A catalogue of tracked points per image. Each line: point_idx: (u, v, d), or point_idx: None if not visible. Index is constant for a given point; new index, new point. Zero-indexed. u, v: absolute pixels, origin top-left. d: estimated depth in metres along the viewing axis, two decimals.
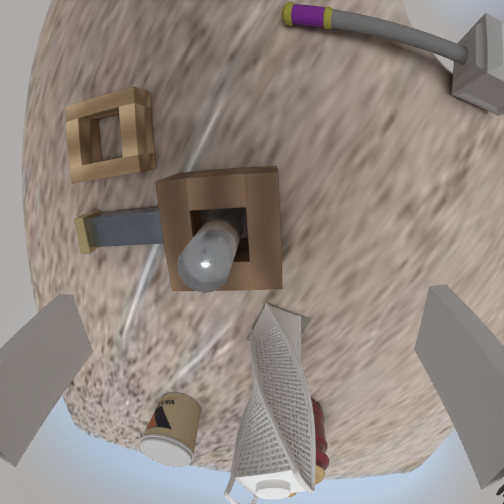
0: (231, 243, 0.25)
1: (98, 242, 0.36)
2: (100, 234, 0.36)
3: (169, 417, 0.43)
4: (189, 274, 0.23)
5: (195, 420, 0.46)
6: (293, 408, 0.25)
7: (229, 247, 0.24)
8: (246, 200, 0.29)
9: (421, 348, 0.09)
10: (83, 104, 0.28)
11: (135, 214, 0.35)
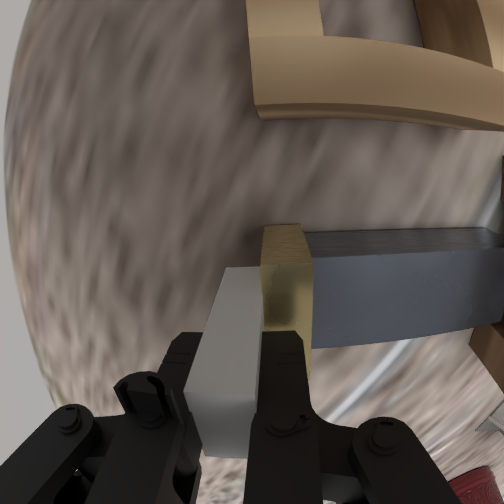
0: None
1: (326, 336, 0.12)
2: (343, 312, 0.11)
3: None
4: None
5: None
6: None
7: None
8: None
9: None
10: None
11: (474, 252, 0.10)
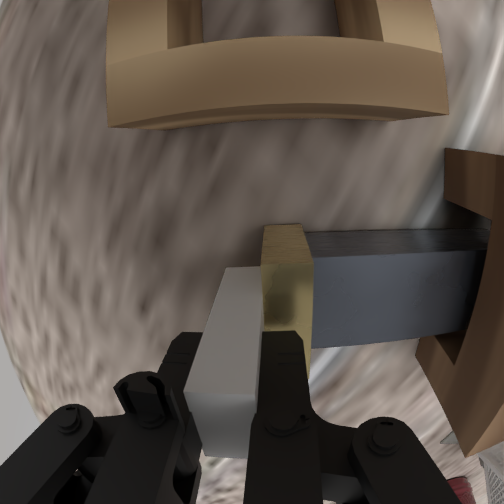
0: None
1: (326, 336, 0.12)
2: (343, 312, 0.11)
3: None
4: None
5: None
6: None
7: None
8: None
9: None
10: None
11: (473, 253, 0.10)
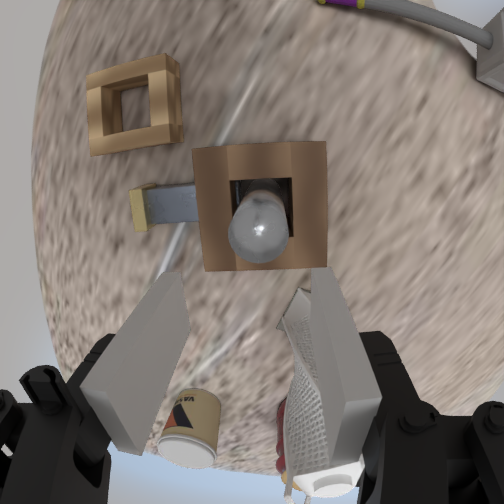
0: (283, 211, 0.23)
1: (156, 218, 0.33)
2: (160, 209, 0.33)
3: (189, 415, 0.40)
4: (241, 242, 0.20)
5: (217, 417, 0.43)
6: None
7: (284, 213, 0.22)
8: (292, 170, 0.26)
9: (311, 326, 0.11)
10: (107, 71, 0.26)
11: None
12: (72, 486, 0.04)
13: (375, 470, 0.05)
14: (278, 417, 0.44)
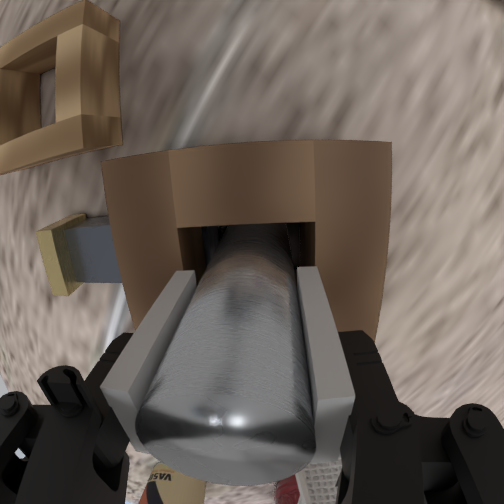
0: (301, 337, 0.08)
1: (83, 274, 0.19)
2: (85, 260, 0.18)
3: (165, 500, 0.26)
4: (178, 456, 0.06)
5: (201, 497, 0.29)
6: None
7: (303, 361, 0.07)
8: (317, 205, 0.12)
9: None
10: (9, 45, 0.11)
11: None
12: (91, 490, 0.04)
13: (351, 470, 0.05)
14: (276, 497, 0.30)
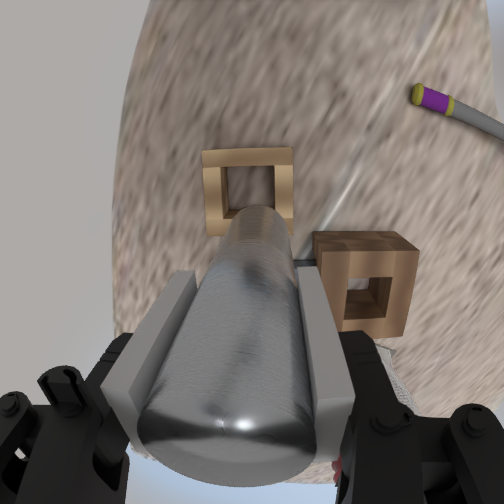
0: (301, 339, 0.08)
1: None
2: None
3: None
4: (179, 458, 0.06)
5: None
6: None
7: (304, 363, 0.07)
8: (394, 271, 0.32)
9: None
10: (228, 152, 0.32)
11: None
12: (91, 490, 0.04)
13: (351, 470, 0.05)
14: None
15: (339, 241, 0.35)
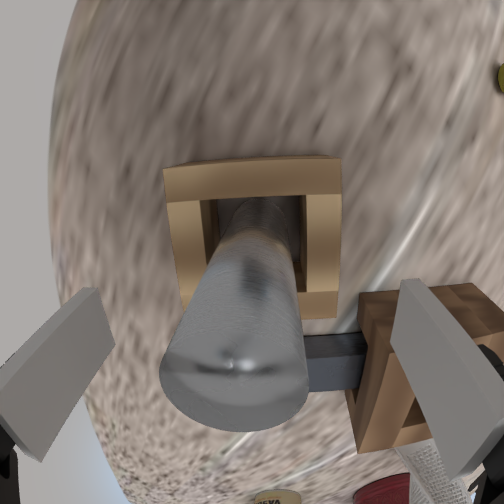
0: (296, 302, 0.10)
1: None
2: None
3: None
4: (193, 399, 0.08)
5: None
6: None
7: (297, 318, 0.09)
8: None
9: (395, 341, 0.10)
10: (213, 171, 0.16)
11: (364, 355, 0.22)
12: None
13: (501, 472, 0.03)
14: (358, 503, 0.35)
15: None
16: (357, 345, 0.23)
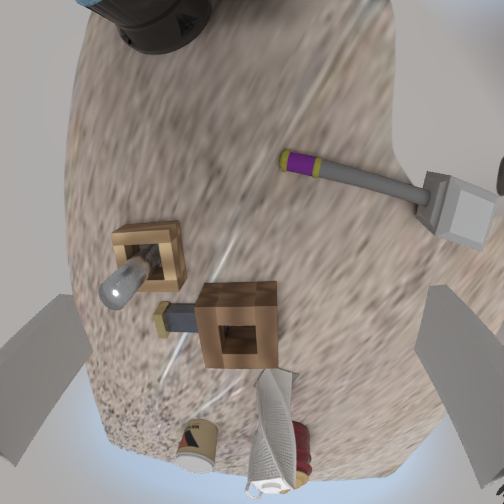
0: (133, 279, 0.37)
1: (172, 329, 0.51)
2: (174, 324, 0.50)
3: (196, 439, 0.58)
4: (105, 299, 0.35)
5: (215, 439, 0.61)
6: (283, 441, 0.40)
7: (129, 282, 0.36)
8: (255, 321, 0.43)
9: (421, 348, 0.09)
10: (127, 235, 0.43)
11: None
12: None
13: None
14: None
15: (216, 295, 0.46)
16: None
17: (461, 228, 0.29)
